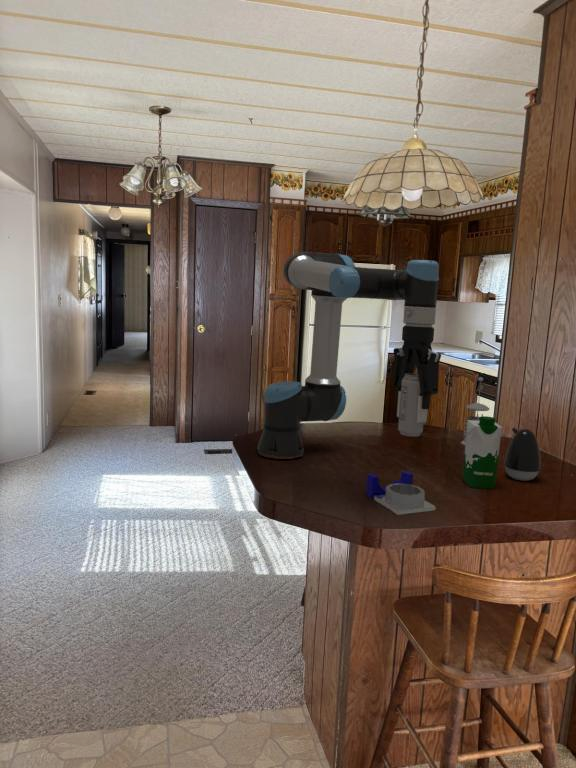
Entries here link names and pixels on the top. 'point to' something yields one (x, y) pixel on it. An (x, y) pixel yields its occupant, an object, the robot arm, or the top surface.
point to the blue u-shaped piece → (375, 488)
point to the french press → (477, 408)
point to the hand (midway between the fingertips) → (411, 418)
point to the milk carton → (481, 452)
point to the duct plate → (404, 510)
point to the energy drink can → (409, 406)
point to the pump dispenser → (523, 456)
